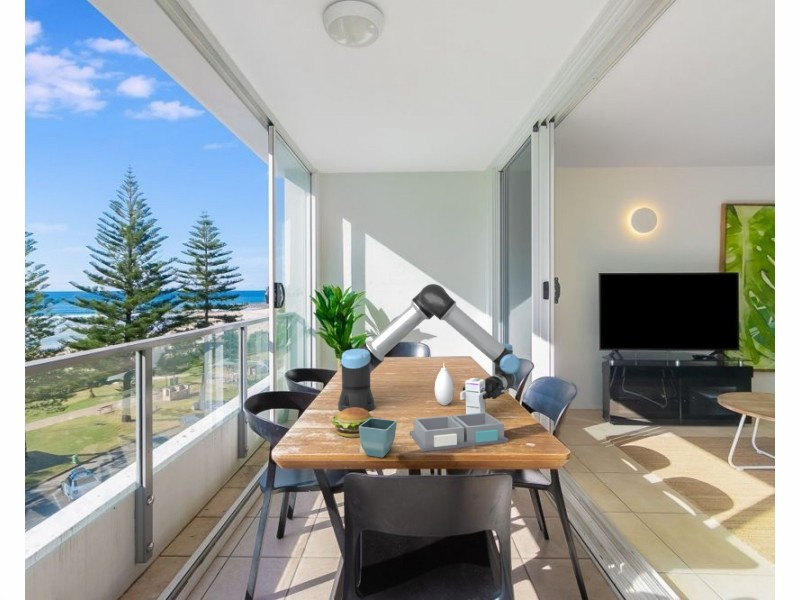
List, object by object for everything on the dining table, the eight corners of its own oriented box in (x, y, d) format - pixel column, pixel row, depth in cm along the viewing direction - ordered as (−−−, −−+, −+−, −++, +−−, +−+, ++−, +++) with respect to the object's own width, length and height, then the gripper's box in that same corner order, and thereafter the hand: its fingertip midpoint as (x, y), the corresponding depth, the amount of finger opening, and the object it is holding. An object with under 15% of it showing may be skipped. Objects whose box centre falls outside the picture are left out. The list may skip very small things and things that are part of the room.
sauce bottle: (431, 404, 166) (430, 361, 165) (444, 401, 170) (444, 359, 170) (443, 408, 159) (443, 364, 159) (457, 405, 164) (457, 362, 164)
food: (324, 431, 135) (324, 408, 135) (359, 423, 143) (359, 401, 143) (344, 443, 124) (344, 418, 124) (381, 433, 132) (381, 409, 132)
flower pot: (397, 449, 118) (397, 420, 118) (387, 462, 110) (386, 429, 110) (370, 446, 121) (370, 417, 121) (358, 457, 113) (358, 426, 113)
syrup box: (480, 422, 143) (480, 382, 142) (465, 419, 146) (465, 380, 146) (486, 417, 148) (485, 379, 147) (471, 415, 151) (470, 377, 150)
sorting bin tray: (422, 451, 117) (422, 433, 117) (409, 434, 131) (409, 417, 131) (508, 442, 123) (508, 424, 123) (486, 426, 138) (486, 410, 138)
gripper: (517, 397, 156) (494, 412, 137) (473, 391, 167) (446, 403, 148) (517, 378, 155) (494, 390, 137) (473, 373, 167) (446, 383, 148)
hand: (469, 397), depth 142 cm, fingers closed on syrup box, 6 cm apart
